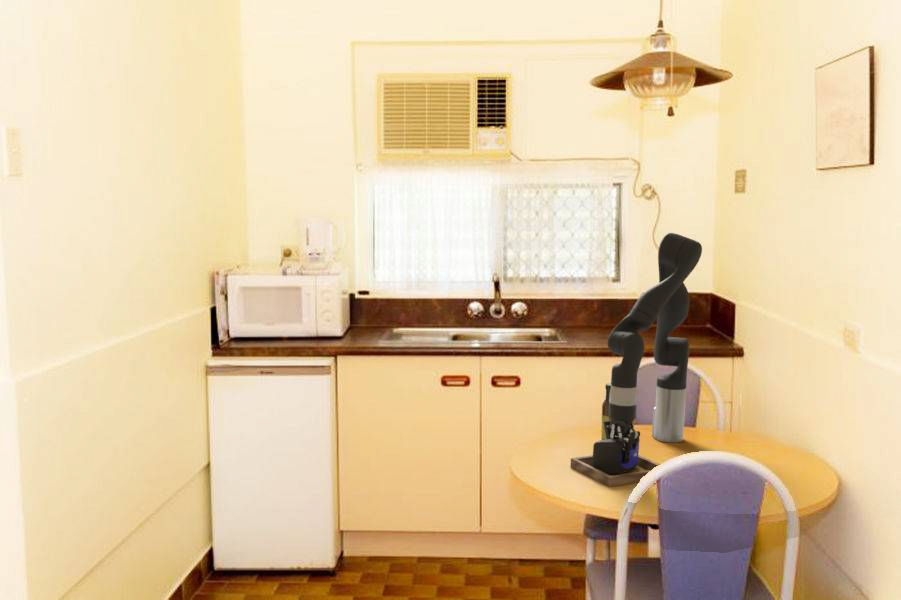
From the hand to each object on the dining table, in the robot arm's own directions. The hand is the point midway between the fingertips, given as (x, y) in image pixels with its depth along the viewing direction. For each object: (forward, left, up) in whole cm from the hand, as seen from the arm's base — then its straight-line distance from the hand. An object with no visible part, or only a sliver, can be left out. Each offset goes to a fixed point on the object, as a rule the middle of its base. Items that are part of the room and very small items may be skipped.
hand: (620, 460), depth 237 cm
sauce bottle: (-21, +13, -3) cm, 25 cm away
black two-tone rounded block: (-2, 0, -3) cm, 4 cm away
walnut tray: (0, 0, -3) cm, 3 cm away
